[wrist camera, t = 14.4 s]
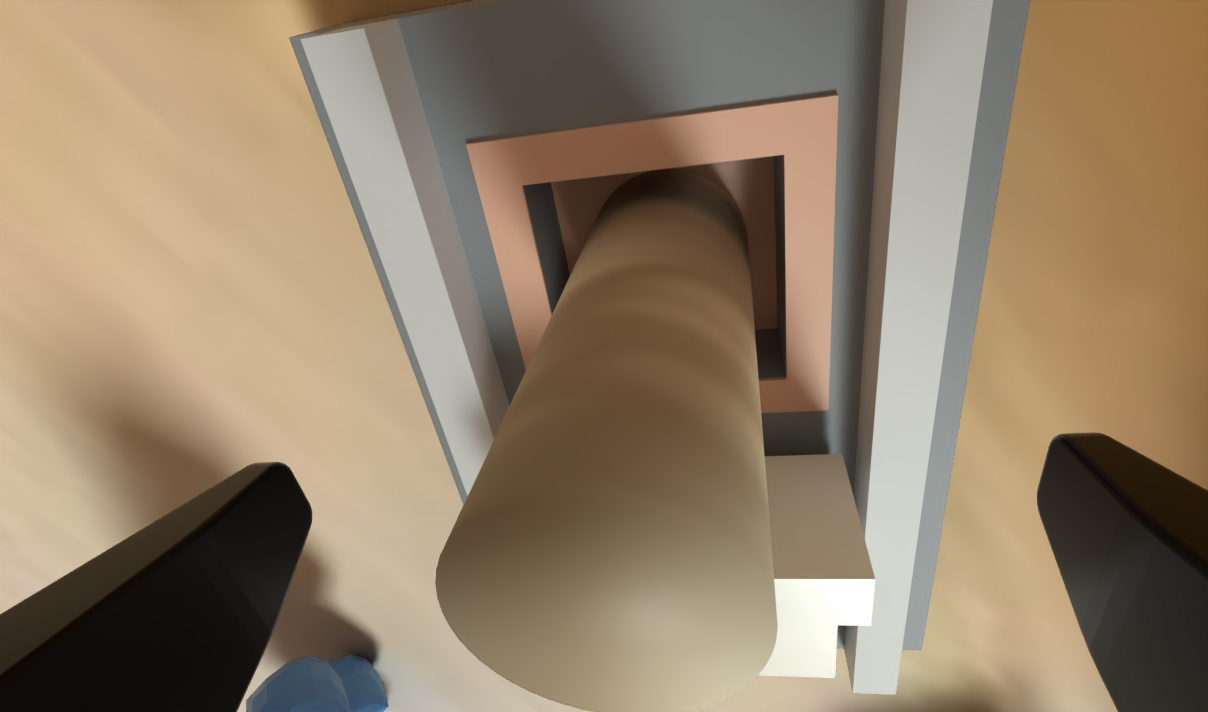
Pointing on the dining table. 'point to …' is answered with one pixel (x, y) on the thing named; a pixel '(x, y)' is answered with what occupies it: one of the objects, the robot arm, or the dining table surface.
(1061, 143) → the dining table surface
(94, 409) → the dining table surface
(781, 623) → the shutter
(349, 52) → the grey sliding panel frame
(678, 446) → the maple pin
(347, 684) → the grapes
